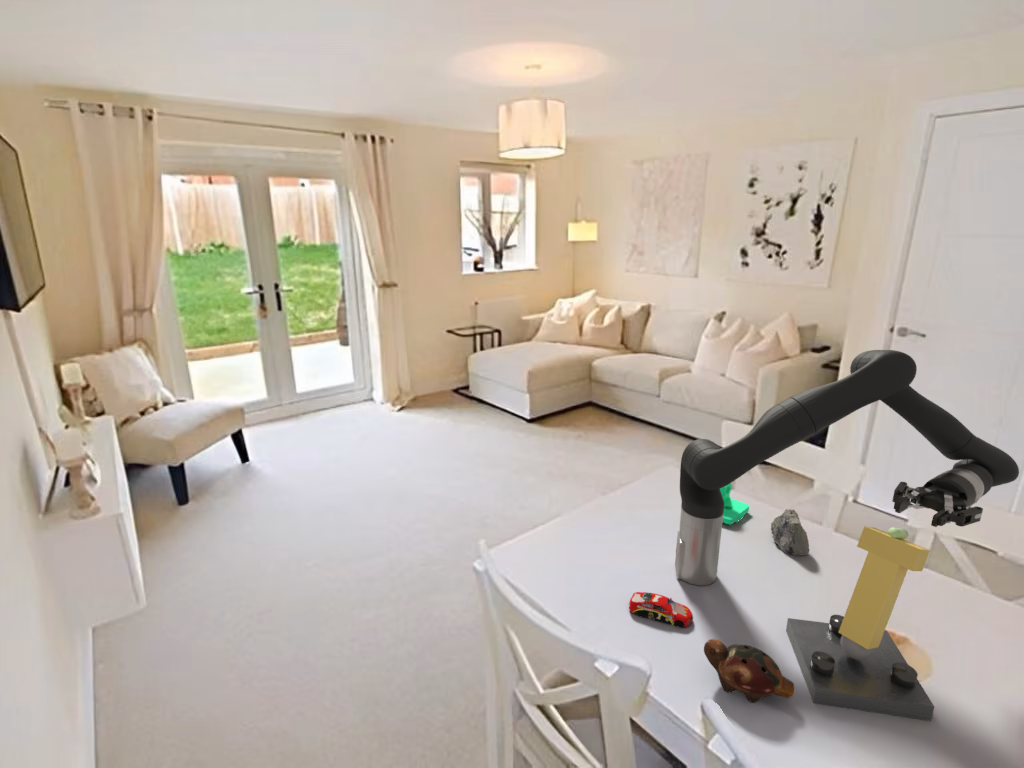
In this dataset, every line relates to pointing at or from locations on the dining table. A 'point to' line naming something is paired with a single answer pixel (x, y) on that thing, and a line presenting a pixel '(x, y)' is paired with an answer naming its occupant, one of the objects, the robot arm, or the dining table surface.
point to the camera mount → (732, 506)
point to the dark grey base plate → (856, 672)
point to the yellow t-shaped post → (878, 588)
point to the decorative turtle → (747, 671)
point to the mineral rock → (790, 533)
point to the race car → (660, 609)
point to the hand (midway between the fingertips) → (915, 514)
